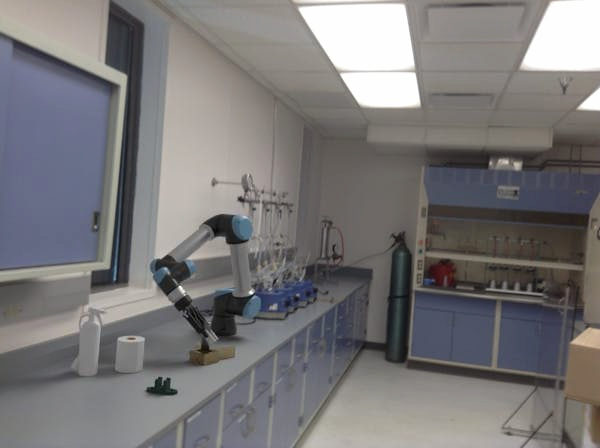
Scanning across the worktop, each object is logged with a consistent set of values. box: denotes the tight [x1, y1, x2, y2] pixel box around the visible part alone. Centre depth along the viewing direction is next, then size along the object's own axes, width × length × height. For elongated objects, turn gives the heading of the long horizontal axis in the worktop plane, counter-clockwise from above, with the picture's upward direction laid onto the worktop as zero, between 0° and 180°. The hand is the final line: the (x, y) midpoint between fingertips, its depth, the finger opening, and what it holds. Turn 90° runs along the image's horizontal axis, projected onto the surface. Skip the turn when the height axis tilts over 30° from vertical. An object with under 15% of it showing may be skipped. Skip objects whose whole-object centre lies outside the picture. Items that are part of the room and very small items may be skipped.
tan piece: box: [189, 341, 236, 366], centre depth 232 cm, size 20×18×4 cm
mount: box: [146, 376, 179, 396], centre depth 184 cm, size 11×4×5 cm, turn 85°
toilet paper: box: [114, 335, 146, 374], centre depth 205 cm, size 10×10×12 cm
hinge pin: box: [200, 320, 211, 351], centre depth 224 cm, size 4×4×12 cm
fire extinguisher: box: [70, 306, 109, 377], centre depth 196 cm, size 7×12×25 cm, turn 77°
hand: (214, 342), depth 224 cm, fingers closed on hinge pin, 3 cm apart
